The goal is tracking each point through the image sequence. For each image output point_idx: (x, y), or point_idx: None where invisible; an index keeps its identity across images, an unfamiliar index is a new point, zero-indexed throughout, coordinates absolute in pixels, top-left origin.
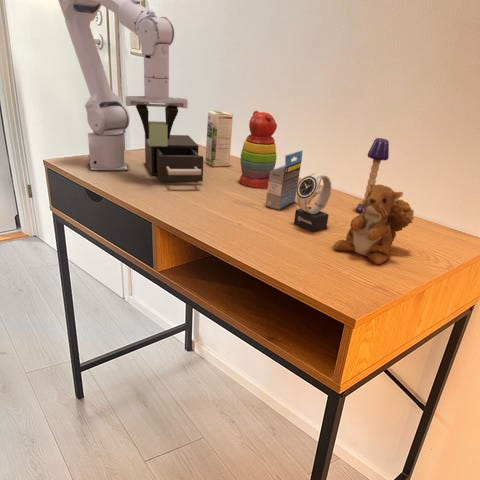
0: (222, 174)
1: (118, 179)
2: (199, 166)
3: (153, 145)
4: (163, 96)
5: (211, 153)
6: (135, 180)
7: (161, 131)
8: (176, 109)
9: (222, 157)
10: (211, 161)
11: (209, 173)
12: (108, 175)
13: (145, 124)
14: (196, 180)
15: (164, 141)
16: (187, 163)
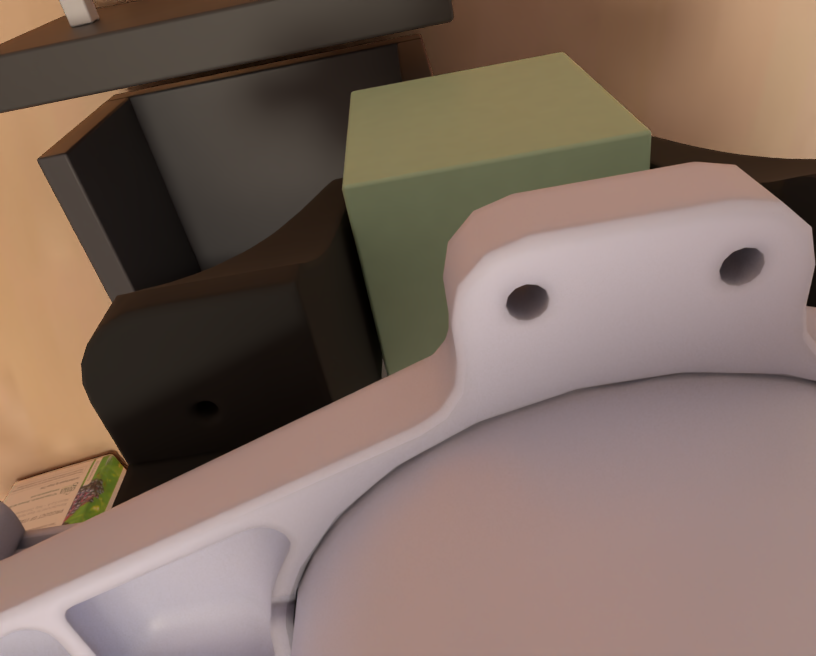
0: (4, 317)
1: (724, 58)
2: (39, 35)
3: (519, 60)
4: (454, 533)
5: None
6: (602, 53)
7: (434, 133)
8: (115, 365)
9: (32, 508)
10: (110, 479)
11: (96, 323)
12: (775, 152)
13: (704, 154)
14: (110, 6)
15: (387, 102)
16: (147, 13)
